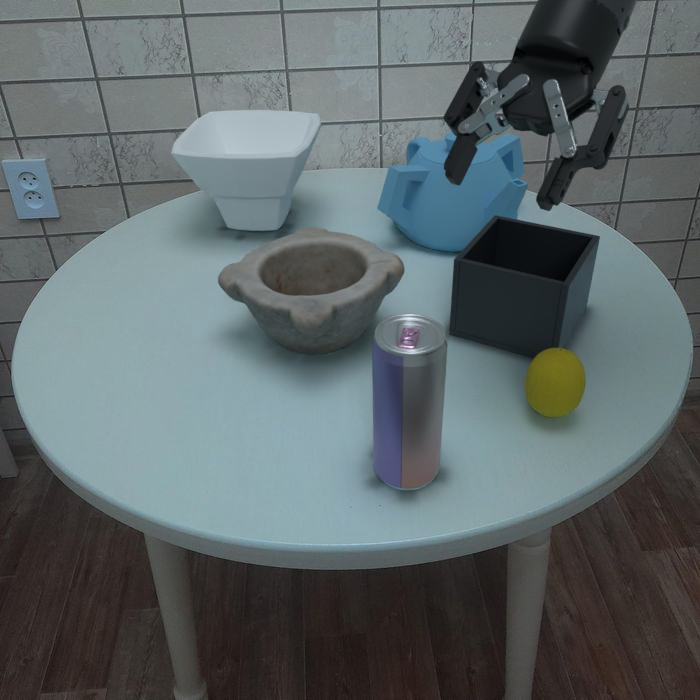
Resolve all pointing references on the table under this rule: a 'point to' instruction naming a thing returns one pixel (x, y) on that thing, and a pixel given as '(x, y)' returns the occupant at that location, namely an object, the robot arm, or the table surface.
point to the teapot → (453, 191)
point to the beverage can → (408, 399)
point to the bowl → (248, 162)
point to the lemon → (555, 382)
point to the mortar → (313, 287)
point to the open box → (522, 285)
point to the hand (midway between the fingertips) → (495, 193)
